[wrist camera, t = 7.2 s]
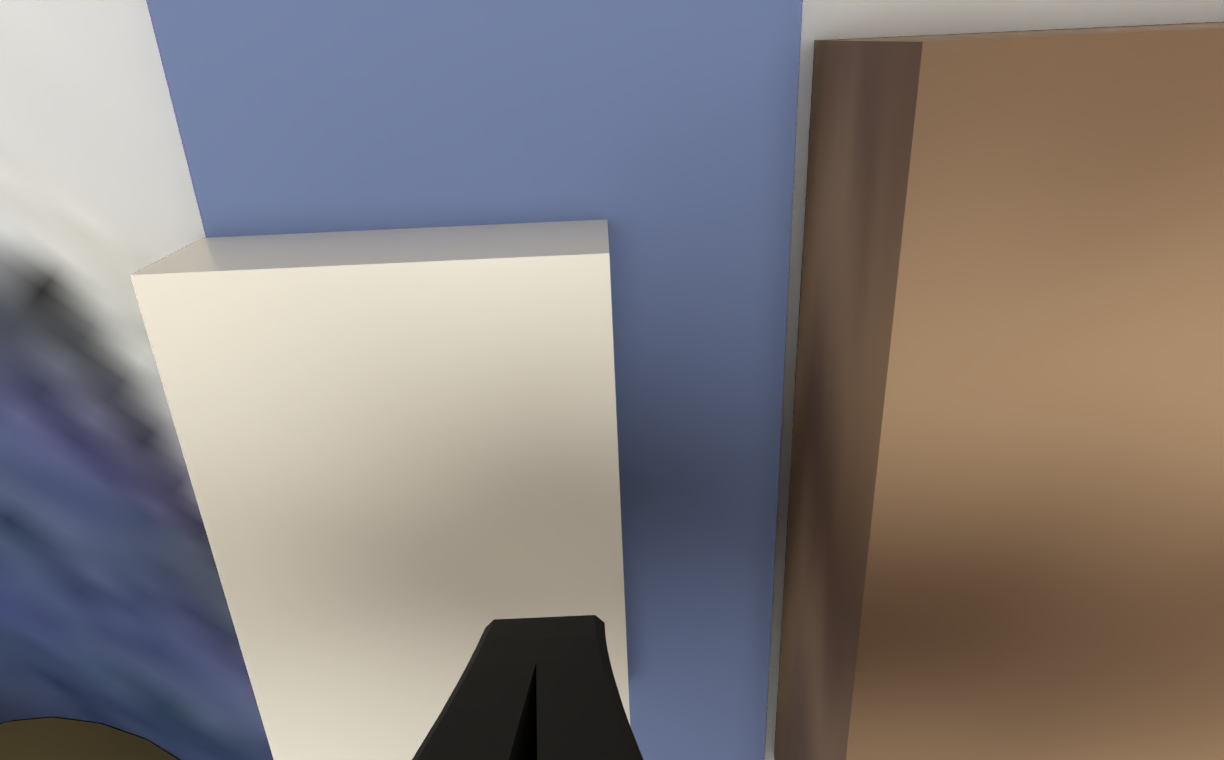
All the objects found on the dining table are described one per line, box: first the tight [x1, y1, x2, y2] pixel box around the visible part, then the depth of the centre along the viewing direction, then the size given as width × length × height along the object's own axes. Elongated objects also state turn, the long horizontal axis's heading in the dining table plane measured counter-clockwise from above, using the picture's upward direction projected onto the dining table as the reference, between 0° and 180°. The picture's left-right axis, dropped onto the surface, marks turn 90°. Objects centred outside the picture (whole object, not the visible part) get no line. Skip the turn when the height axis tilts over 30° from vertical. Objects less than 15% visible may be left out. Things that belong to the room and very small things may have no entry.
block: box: [130, 219, 630, 760], centre depth 13 cm, size 9×6×2 cm, turn 2°
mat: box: [146, 0, 803, 760], centre depth 14 cm, size 17×9×1 cm, turn 2°
